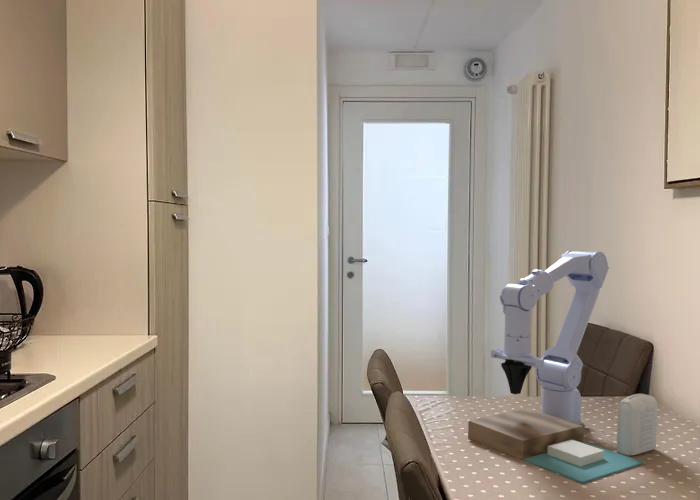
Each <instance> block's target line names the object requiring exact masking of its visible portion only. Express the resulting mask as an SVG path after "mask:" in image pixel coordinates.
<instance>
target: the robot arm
mask: <svg viewBox="0 0 700 500" xmlns="http://www.w3.org/2000/svg"><path fill="white" fill-rule="evenodd" d="M609 268H610V267H609V264H608V259H607V257H606V255H605V253H604V252H602V251H584V250H583V251H582V250H581V251H577V250H571V249H570V250H566V252H564V253H562V254H561V255H560V258H559V259H558V260H557V261H556V262H555V263H553V264H552V265H550V266H548V268H546V269H545V270H543V269H537V268H536V269H533V270H531V273H530V274H529V275H527V276H526V277H524V278H523V277H522V278H520V279H519V280H518V282H516V283H508V284H507V285H505V286H504V287H503V288H502V291H501V295H500V294H499V300H500V303H501V305H502V308H503V309H502V312H503V314H504V343H503V344H504V345H503V346H504V348H503V349H500V348H492V349H490V358H493V359H498V360H499V359H501V360H504V362H501V364H500V366H501V368H502V370H503V372H504V374H505V375H506V379H507V383H508V387H509V392H510V394H513V395H519V394H522V390H523V385H524V383H525V380H526V378H527V376H528V374H529V372H530V371H531V369H532V367H534V368H535V370H534V371H535V373H534V374H535V377H536V379H537V381H538V382H539V386H542V388H541V389H542V391H541V412H542V413H545V414H548V415H551V416H555V417H558V418H561V419H564V420H567V421H571V422H574V423H577V424H580V425H583V424H584V421H583V420H581V418H582V396H581V393H580V391H579V389H578V386H579V385H580V383H581V380H582V370H583V367H584V363H583V361H582V359H581V358H580V357H579V355H578V351H579V348H580V345H581V342H582V341H583V337H584V334H585V331H586V329H587V327H588V323H589V322H590V318H591V315H592V313H593V310H594V307H595V304H596V302H597V299H598V296H599V294H600V291H601V288H603V284H604V282H605V280H606V276H607V274H608V271H609ZM564 277H565V278H567V279H568V282H569V283H570V285H571V286H572V287H574V288H575V293H574V295H573V298H572V300H571V303H570V305H569V308H568V311H567V314H566V316H565V318H564V321H563V324H562V327H561V329H560V332H559V334H558V337H557V340H556V342H555V345H554V346H552V347H550V348H548V349H547V350H545V351H544V352H543V355H542V356H541V358H540V357H537V356H535V355H533V354H530V346H531V345H530V344H531V342H530V341H531V339H530V338H531V313H532V311H531V310H533V309H534V308H535V306H536V304H537V302H538V300H539V299H540V298H541V297H543V296H544V295H546V294H548V293H549V292H551V290H552V289H553V287H554V284H555V283H556V282H558V281H559V280H561V279H563V278H564Z"/></svg>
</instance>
